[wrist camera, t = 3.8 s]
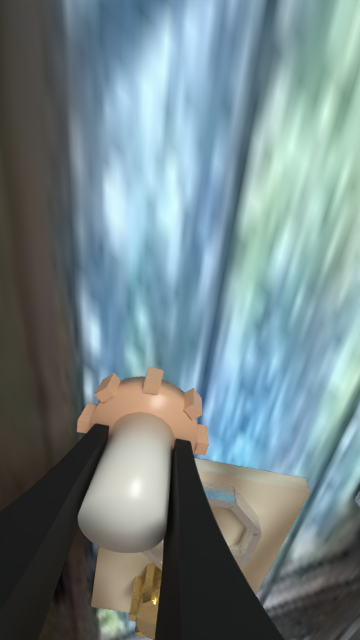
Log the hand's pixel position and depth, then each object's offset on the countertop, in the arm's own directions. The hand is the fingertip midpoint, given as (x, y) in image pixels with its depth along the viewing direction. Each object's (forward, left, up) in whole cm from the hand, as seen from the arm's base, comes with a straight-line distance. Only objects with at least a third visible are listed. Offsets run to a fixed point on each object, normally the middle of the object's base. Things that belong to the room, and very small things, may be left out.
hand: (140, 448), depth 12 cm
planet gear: (0, 0, -2) cm, 2 cm away
